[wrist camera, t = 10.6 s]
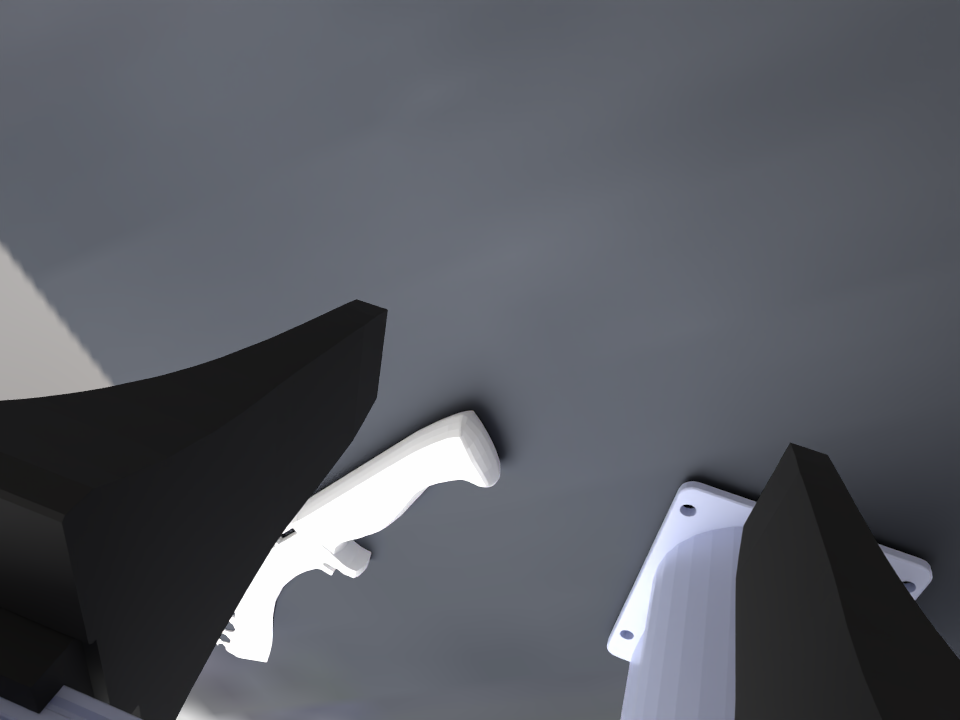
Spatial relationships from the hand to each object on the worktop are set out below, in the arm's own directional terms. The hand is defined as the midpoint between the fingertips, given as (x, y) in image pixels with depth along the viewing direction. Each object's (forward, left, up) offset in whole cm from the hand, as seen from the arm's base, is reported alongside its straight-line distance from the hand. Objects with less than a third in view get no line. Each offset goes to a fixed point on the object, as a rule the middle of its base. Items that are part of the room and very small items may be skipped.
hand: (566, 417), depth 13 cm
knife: (-22, +9, -10) cm, 26 cm away
